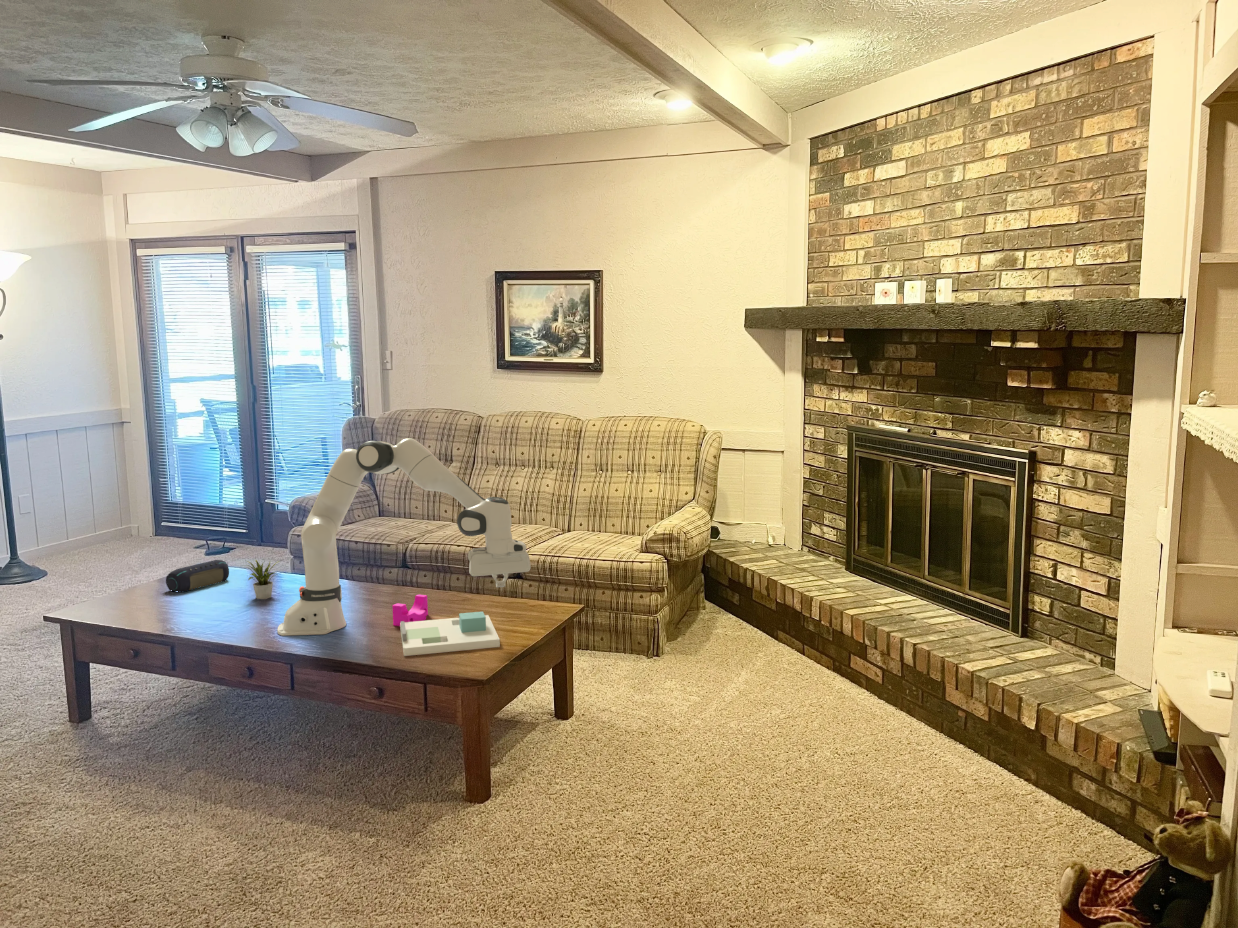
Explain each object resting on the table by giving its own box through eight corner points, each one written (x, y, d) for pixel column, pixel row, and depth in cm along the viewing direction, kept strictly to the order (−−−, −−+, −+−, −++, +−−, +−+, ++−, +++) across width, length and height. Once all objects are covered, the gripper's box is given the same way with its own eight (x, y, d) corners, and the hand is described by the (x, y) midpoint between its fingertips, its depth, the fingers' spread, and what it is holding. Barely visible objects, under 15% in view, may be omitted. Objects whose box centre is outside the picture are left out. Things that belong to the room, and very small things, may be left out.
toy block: (408, 628, 318) (407, 607, 317) (393, 626, 321) (392, 605, 320) (433, 616, 332) (433, 596, 331) (419, 614, 334) (418, 594, 333)
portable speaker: (179, 597, 361) (178, 572, 360) (163, 594, 366) (162, 569, 364) (234, 582, 382) (233, 559, 381) (218, 579, 387) (217, 556, 386)
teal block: (461, 632, 304) (461, 619, 303) (459, 626, 310) (459, 613, 310) (486, 630, 306) (485, 617, 305) (483, 624, 312) (483, 611, 312)
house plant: (232, 603, 351) (229, 561, 349) (254, 593, 365) (251, 553, 362) (266, 605, 348) (263, 562, 346) (287, 595, 361) (284, 554, 359)
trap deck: (403, 655, 289) (403, 640, 288) (400, 629, 316) (399, 615, 315) (499, 646, 297) (499, 631, 296) (488, 621, 324) (488, 607, 323)
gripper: (468, 550, 301) (470, 591, 303) (530, 545, 307) (532, 586, 309) (466, 546, 307) (468, 587, 309) (527, 541, 313) (528, 581, 315)
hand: (500, 586), depth 309 cm, fingers closed
